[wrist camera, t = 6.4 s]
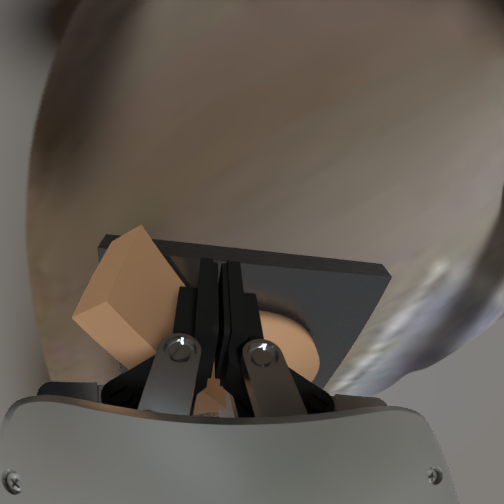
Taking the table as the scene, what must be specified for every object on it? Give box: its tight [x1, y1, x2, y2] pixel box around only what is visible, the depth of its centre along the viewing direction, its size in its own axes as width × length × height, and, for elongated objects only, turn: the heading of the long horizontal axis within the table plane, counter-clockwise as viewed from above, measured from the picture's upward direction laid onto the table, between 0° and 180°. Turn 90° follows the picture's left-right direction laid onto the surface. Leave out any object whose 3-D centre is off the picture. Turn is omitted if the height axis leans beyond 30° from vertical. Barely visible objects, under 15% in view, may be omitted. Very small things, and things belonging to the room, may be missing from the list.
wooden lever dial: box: [72, 225, 320, 418], centre depth 15 cm, size 12×18×6 cm, turn 24°
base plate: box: [98, 234, 392, 389], centre depth 19 cm, size 18×18×6 cm
